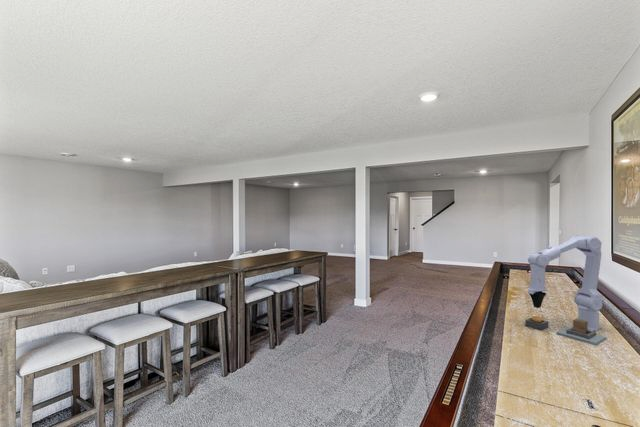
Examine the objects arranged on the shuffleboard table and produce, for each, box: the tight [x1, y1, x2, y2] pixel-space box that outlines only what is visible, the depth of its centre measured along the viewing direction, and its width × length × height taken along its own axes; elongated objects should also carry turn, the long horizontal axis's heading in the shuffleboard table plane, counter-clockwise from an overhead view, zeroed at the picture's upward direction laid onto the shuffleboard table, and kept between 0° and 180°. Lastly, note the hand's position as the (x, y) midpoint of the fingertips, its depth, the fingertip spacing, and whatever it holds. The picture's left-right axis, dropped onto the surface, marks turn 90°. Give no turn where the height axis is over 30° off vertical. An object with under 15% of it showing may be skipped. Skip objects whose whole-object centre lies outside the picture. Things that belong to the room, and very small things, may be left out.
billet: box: [572, 318, 589, 334], centre depth 141 cm, size 4×4×6 cm
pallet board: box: [555, 326, 607, 346], centre depth 140 cm, size 13×14×2 cm
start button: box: [531, 315, 543, 323], centre depth 152 cm, size 4×4×2 cm
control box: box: [524, 317, 549, 331], centre depth 152 cm, size 7×7×3 cm
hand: (537, 307), depth 152 cm, fingers closed
